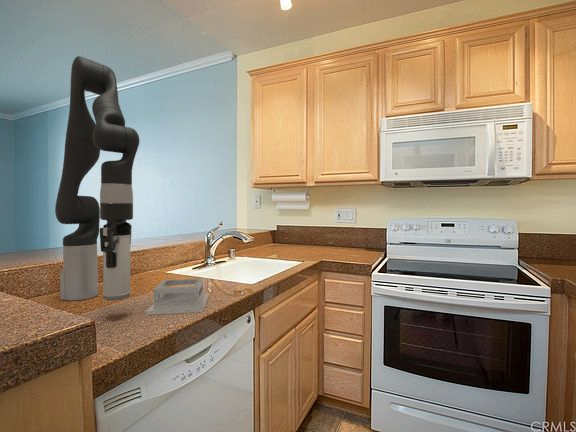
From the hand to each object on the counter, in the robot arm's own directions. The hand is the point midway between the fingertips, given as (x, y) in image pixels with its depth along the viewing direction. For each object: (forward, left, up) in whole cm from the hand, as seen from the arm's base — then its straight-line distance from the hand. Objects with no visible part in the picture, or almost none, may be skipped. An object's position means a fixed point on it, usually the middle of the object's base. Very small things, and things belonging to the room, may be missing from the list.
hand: (117, 264), depth 78 cm
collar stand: (+14, +8, -14) cm, 22 cm away
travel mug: (0, 0, -9) cm, 9 cm away
